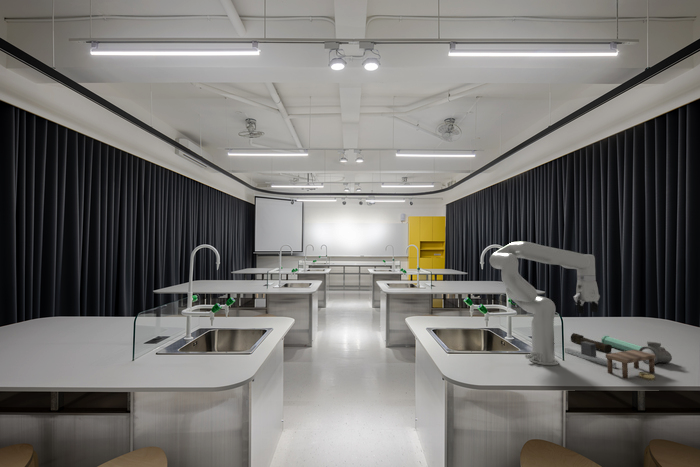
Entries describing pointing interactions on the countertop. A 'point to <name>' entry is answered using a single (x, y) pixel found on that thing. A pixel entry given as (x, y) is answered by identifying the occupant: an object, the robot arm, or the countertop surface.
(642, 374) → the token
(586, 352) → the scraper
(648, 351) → the pipe fitting
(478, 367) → the countertop surface
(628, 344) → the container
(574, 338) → the hand tool
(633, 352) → the bench
